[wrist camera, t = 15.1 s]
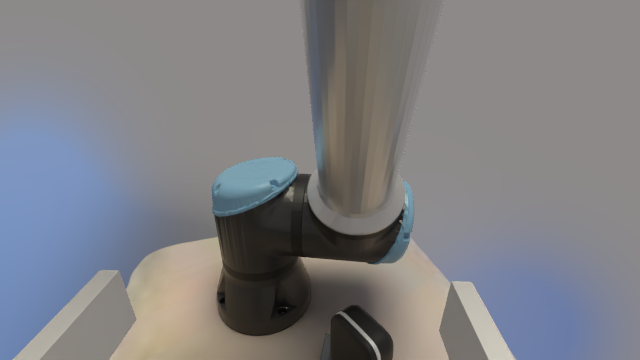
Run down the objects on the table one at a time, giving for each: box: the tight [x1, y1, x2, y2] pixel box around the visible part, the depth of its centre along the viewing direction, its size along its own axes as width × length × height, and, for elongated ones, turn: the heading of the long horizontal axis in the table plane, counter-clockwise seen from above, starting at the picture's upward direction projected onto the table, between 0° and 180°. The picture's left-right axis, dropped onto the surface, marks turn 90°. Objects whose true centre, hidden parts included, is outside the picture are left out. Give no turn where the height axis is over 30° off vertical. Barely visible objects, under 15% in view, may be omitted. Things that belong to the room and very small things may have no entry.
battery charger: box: [330, 305, 393, 360], centre depth 35 cm, size 7×4×11 cm, turn 37°
